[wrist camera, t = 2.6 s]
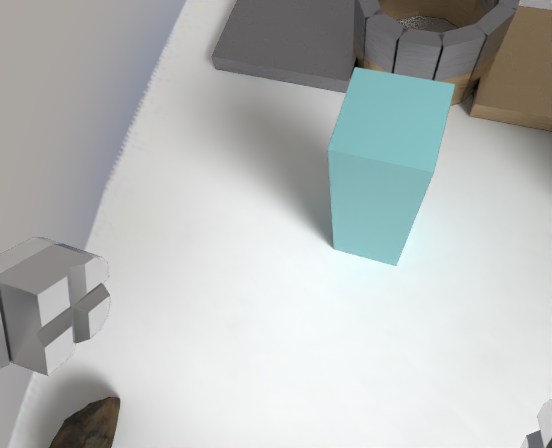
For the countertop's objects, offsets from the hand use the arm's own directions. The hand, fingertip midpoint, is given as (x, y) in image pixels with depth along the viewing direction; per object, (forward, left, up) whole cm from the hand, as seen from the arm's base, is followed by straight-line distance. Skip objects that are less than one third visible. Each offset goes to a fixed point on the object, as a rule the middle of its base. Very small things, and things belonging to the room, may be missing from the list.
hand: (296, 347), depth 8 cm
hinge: (0, -27, -23) cm, 35 cm away
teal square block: (0, -11, -23) cm, 25 cm away
